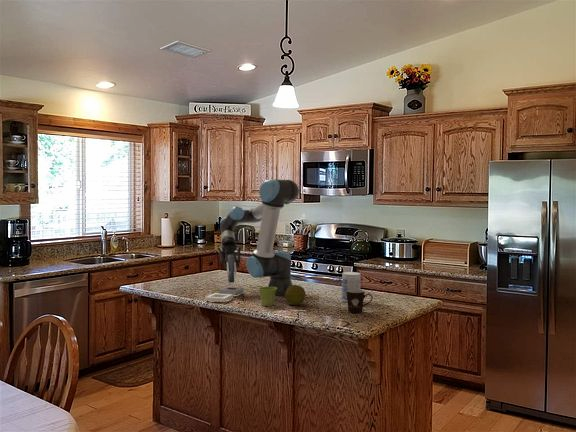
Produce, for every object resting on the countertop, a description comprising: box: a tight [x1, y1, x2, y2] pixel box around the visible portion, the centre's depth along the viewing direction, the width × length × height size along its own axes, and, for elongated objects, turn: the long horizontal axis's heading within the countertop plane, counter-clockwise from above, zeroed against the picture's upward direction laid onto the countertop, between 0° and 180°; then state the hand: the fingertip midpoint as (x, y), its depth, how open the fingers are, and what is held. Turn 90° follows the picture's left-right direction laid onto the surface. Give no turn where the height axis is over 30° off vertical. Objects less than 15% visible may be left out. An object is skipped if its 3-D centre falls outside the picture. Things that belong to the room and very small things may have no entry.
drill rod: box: [227, 254, 235, 284], centre depth 287 cm, size 3×3×15 cm
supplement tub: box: [341, 271, 362, 303], centre depth 270 cm, size 10×10×15 cm
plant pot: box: [257, 286, 277, 307], centre depth 261 cm, size 9×9×9 cm
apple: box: [284, 284, 306, 306], centre depth 261 cm, size 10×10×11 cm
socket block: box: [218, 286, 245, 295], centre depth 287 cm, size 10×10×4 cm
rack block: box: [204, 292, 234, 302], centre depth 272 cm, size 11×11×2 cm
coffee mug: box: [346, 289, 373, 315], centre depth 244 cm, size 12×9×10 cm
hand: (231, 272), depth 283 cm, fingers closed on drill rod, 3 cm apart
